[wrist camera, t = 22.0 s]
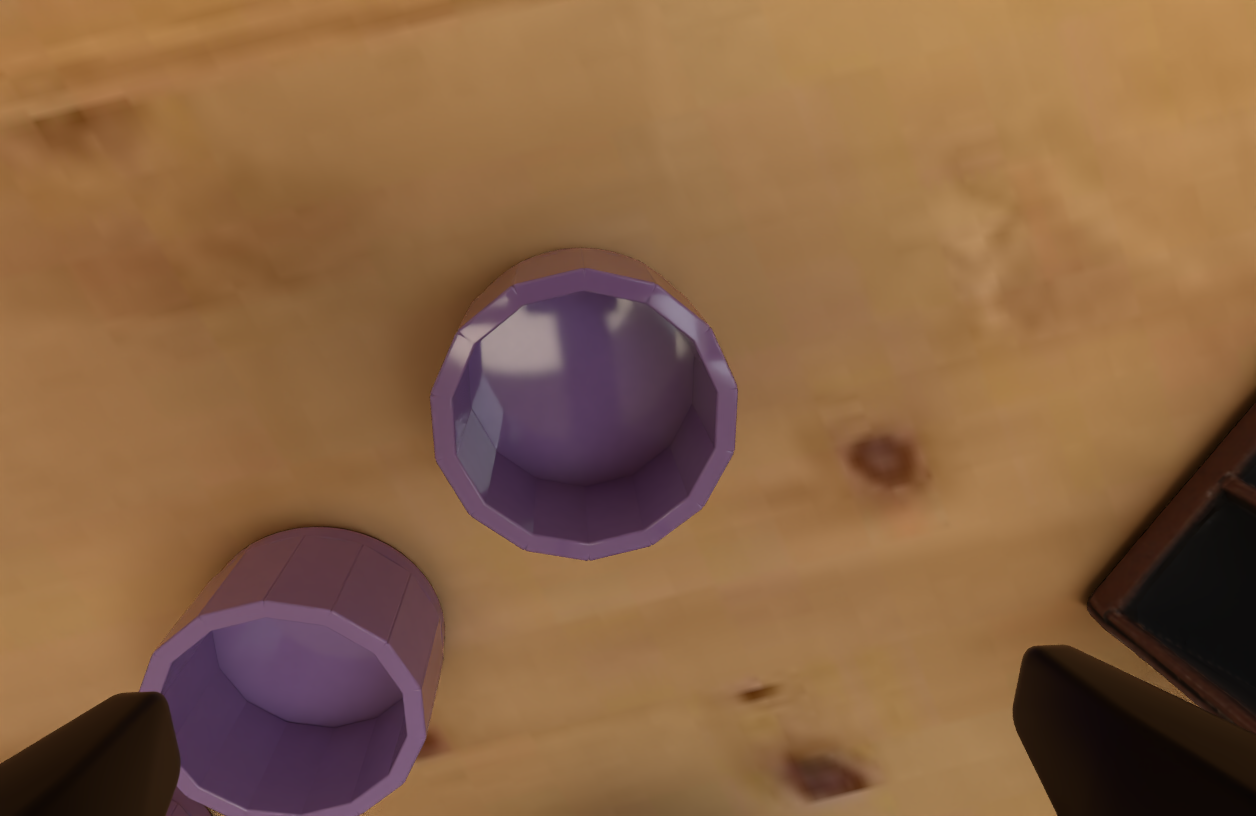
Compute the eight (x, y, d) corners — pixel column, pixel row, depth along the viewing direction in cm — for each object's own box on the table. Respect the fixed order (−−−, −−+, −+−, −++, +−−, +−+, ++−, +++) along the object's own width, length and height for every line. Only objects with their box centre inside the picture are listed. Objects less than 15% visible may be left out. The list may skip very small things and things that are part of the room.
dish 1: (435, 518, 20) (411, 594, 17) (453, 718, 23) (434, 820, 19) (185, 527, 20) (109, 607, 16) (227, 730, 22) (167, 838, 19)
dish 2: (710, 243, 19) (745, 266, 15) (702, 487, 21) (729, 556, 17) (444, 245, 18) (418, 269, 15) (463, 495, 20) (443, 567, 17)
